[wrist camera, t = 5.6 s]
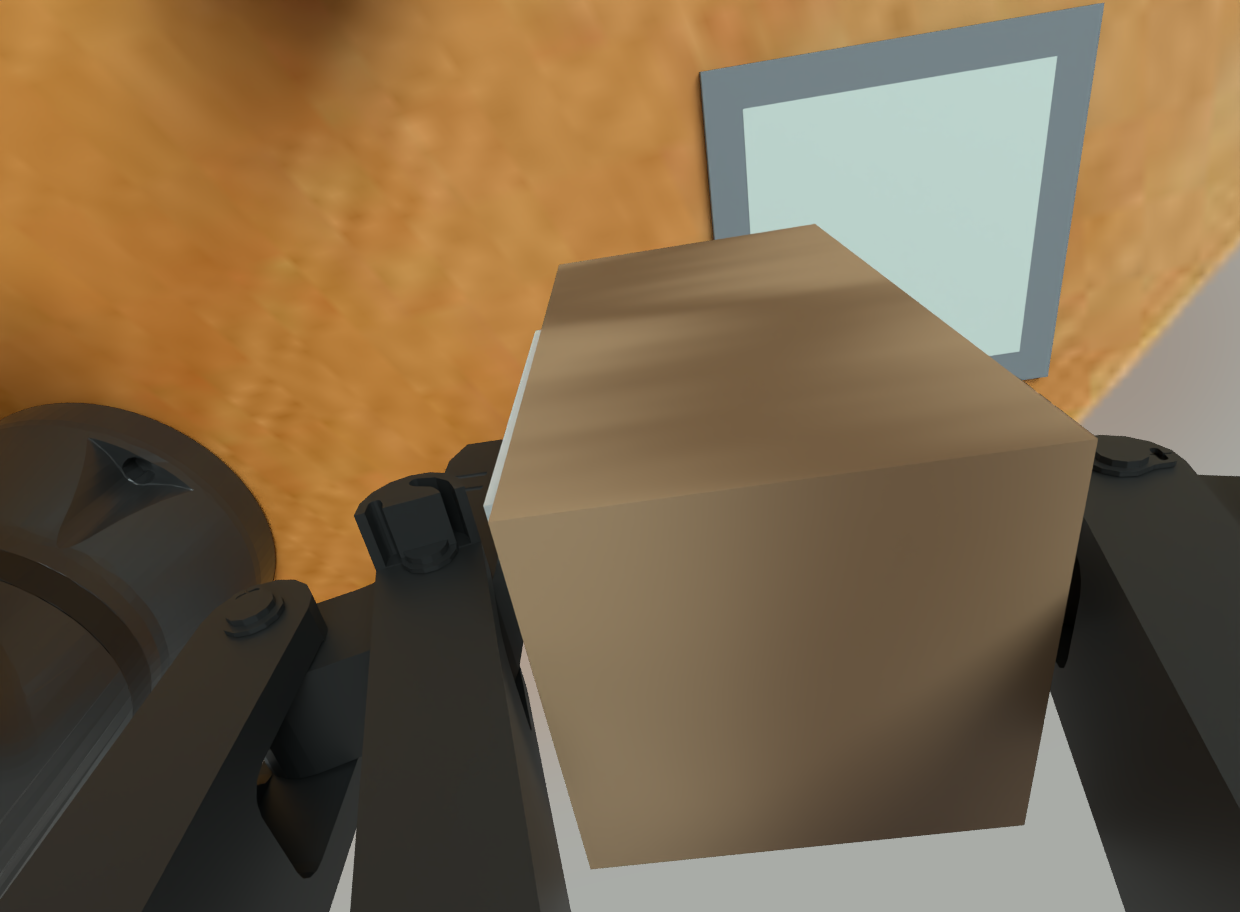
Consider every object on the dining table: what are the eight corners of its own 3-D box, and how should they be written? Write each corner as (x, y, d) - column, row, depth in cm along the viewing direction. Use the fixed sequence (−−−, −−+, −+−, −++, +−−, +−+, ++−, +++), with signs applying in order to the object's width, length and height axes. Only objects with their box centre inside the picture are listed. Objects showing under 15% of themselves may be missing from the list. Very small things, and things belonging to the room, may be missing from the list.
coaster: (729, 419, 34) (730, 423, 34) (699, 72, 27) (700, 72, 27) (1042, 373, 34) (1047, 376, 33) (1097, 3, 26) (1104, 2, 26)
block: (601, 480, 16) (590, 869, 8) (558, 264, 14) (487, 522, 6) (820, 450, 16) (1023, 824, 8) (814, 223, 14) (1097, 438, 6)
